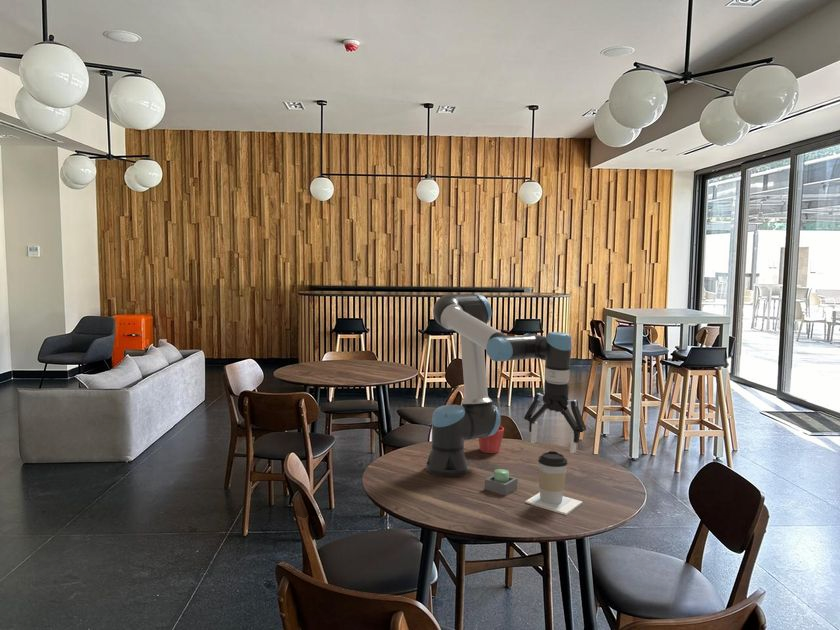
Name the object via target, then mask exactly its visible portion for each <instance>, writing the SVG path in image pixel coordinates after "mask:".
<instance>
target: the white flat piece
mask: <svg viewBox="0 0 840 630" xmlns="http://www.w3.org/2000/svg"><path fill="white" fill-rule="evenodd" d="M524 502H525V503H526V504H527V505H528V504H529V505H532V506H534V507H537V508H542V509H545V510H547V511H552V512H554V513H558V514H561V515H564V516H567V515H570V513H572V512H573V511H574V510H576V509H577V508H579V506H581V505H583V501H582V500H579V499H575V498H572V497H567V496H564V495H563V498H562V502H561V503H560V504H548V503H544V502H542V501H541V500H540V491H539V492H538V493H536V494H535V495H533V496H532V497H530V498H528V499H526V500H525V501H524ZM525 503H524V504H525Z"/></svg>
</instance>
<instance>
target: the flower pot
mask: <svg viewBox="0 0 840 630" xmlns="http://www.w3.org/2000/svg"><path fill="white" fill-rule="evenodd" d="M504 432H505V428H504V427H503V426H502V425H500V426H499V429H498V430H497V431H496V433H495V434H494V435H491V436H487V437H485V438H477V439H478V445H479V450H480V452H483V453H486V454H496V453H499V452H500V449H501V446H502V441H503V437H504Z"/></svg>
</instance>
